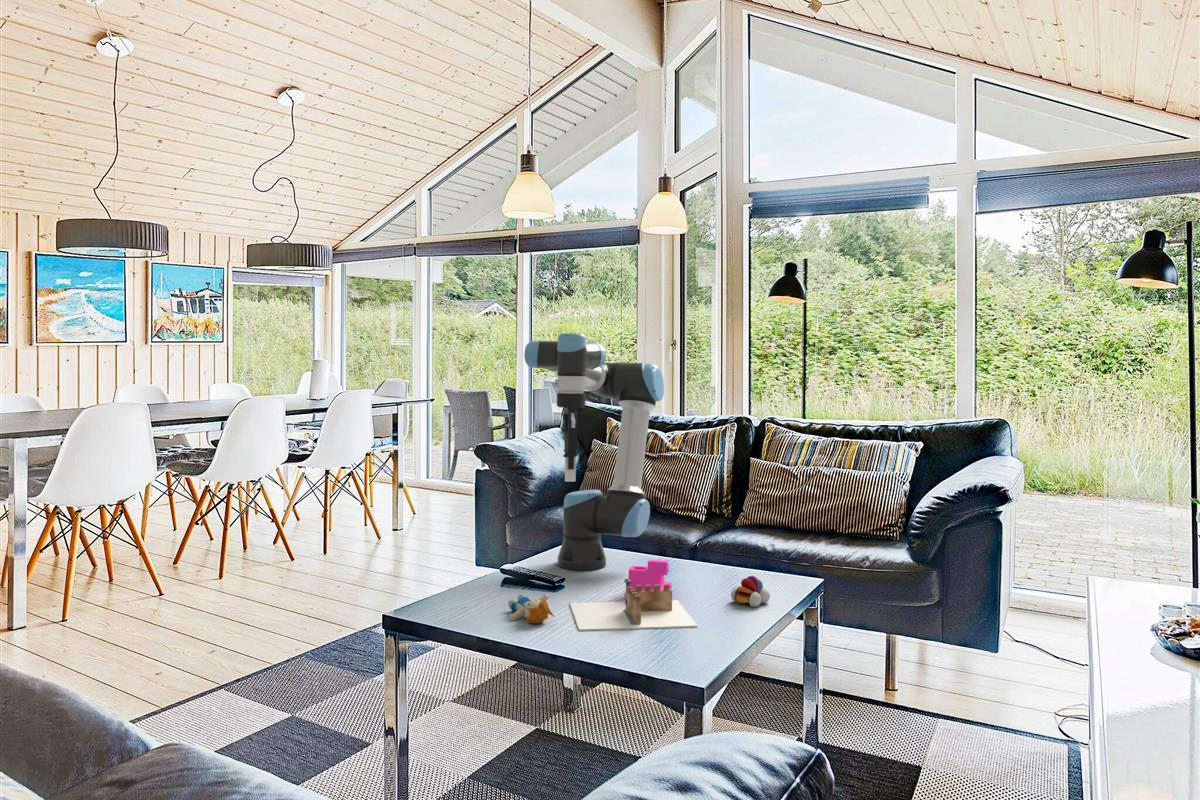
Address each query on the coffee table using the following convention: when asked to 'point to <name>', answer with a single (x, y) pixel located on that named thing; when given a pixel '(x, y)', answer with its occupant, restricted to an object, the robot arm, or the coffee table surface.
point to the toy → (530, 609)
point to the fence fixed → (655, 598)
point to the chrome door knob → (627, 583)
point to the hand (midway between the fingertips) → (570, 481)
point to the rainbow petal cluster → (750, 592)
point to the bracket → (649, 574)
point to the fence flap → (633, 605)
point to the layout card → (627, 617)
